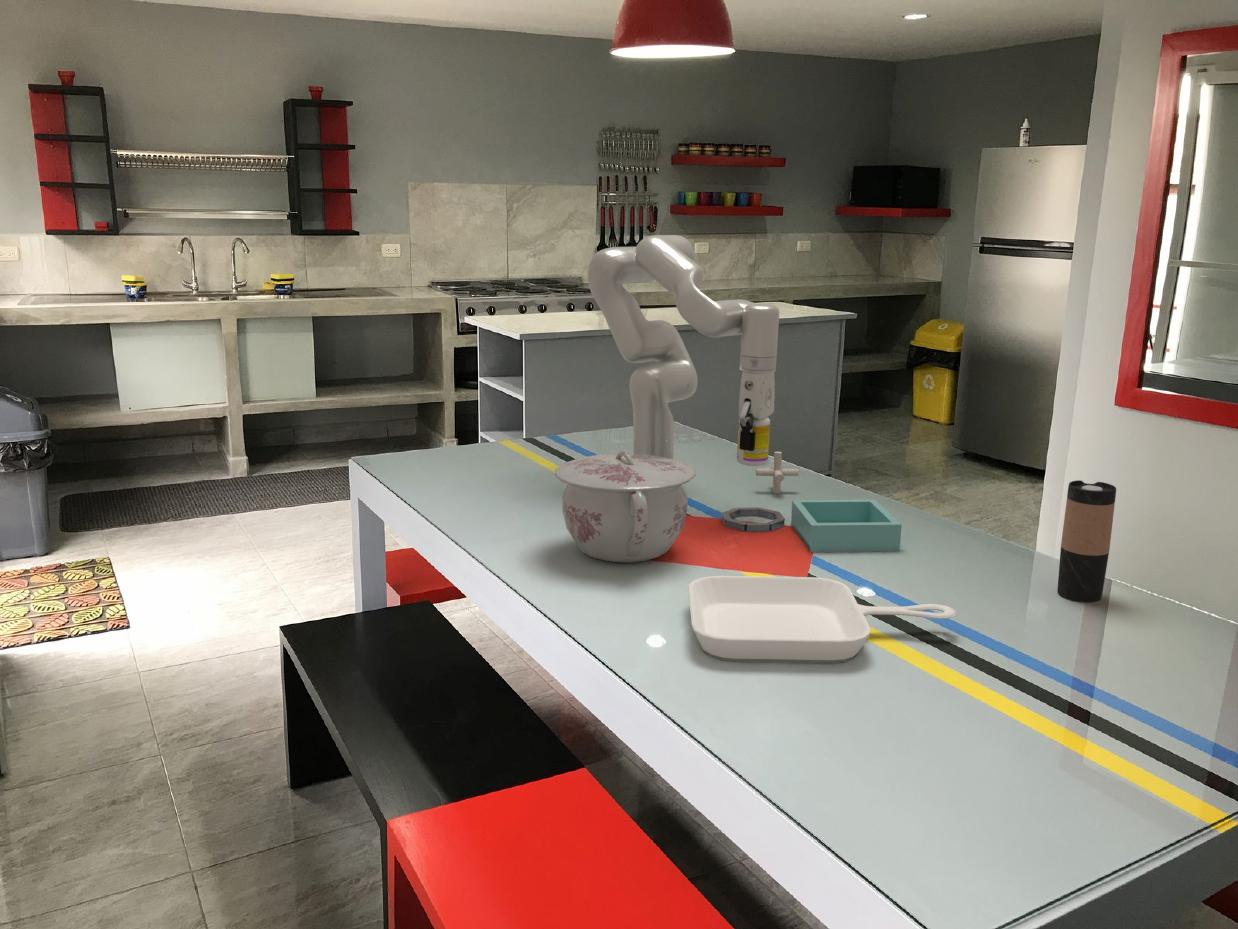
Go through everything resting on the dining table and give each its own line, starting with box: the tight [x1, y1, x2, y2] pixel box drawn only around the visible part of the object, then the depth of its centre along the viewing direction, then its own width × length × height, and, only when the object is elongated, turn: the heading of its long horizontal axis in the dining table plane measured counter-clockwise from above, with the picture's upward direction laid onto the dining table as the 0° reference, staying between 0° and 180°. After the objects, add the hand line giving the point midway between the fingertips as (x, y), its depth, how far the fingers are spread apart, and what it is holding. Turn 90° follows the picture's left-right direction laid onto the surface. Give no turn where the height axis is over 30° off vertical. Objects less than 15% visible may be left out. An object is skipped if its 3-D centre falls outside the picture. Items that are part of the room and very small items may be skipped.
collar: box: [720, 506, 786, 533], centre depth 217 cm, size 13×13×2 cm
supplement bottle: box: [736, 415, 771, 467], centre depth 213 cm, size 7×7×13 cm
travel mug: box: [1057, 479, 1117, 604], centre depth 173 cm, size 8×8×20 cm
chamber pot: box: [553, 449, 696, 564], centre depth 195 cm, size 28×28×21 cm
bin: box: [790, 499, 903, 553], centre depth 207 cm, size 18×18×6 cm
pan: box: [687, 575, 957, 664], centre depth 160 cm, size 27×42×5 cm, turn 88°
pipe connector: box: [755, 451, 800, 495], centre depth 240 cm, size 10×10×10 cm
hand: (753, 445), depth 214 cm, fingers closed on supplement bottle, 6 cm apart
